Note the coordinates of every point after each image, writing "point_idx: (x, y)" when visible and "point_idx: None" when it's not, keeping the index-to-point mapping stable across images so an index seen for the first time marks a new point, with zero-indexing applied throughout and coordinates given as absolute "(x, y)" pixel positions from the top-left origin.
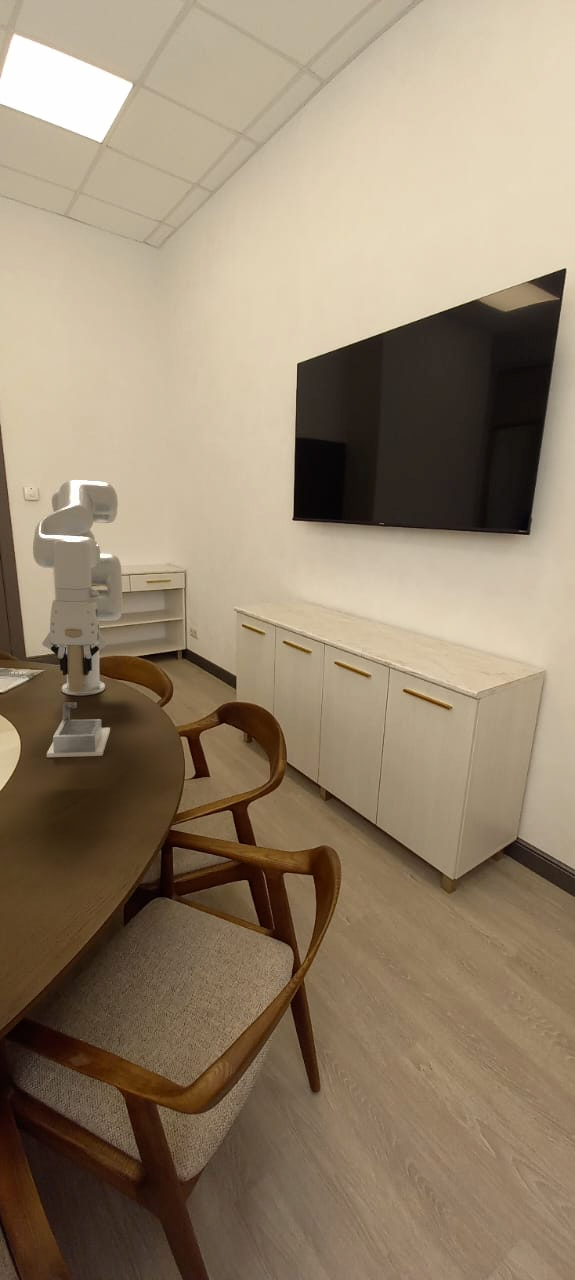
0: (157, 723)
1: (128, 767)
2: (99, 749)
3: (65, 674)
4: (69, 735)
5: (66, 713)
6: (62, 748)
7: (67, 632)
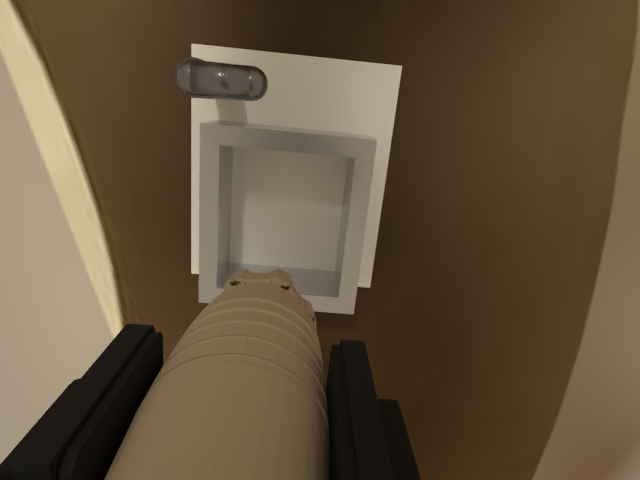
0: (610, 3)
1: (441, 364)
2: (361, 270)
3: None
4: None
5: (208, 98)
6: None
7: None
